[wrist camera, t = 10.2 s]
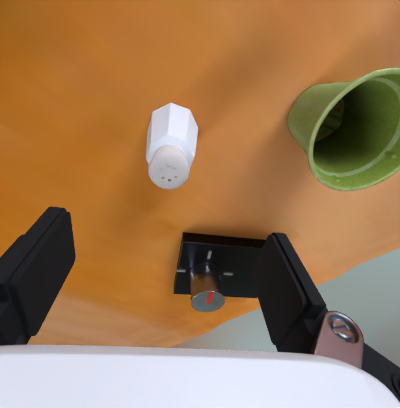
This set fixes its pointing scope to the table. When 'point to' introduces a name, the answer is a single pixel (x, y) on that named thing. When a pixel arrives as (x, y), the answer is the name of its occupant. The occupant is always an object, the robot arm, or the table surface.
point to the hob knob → (206, 287)
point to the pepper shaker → (171, 145)
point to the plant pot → (350, 129)
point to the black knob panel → (219, 262)
